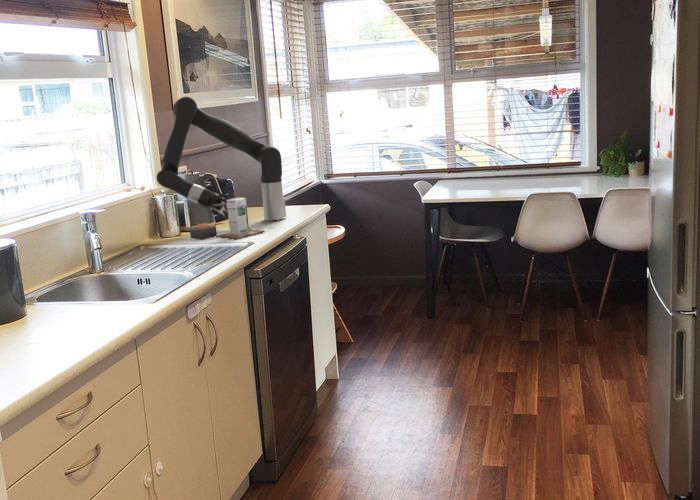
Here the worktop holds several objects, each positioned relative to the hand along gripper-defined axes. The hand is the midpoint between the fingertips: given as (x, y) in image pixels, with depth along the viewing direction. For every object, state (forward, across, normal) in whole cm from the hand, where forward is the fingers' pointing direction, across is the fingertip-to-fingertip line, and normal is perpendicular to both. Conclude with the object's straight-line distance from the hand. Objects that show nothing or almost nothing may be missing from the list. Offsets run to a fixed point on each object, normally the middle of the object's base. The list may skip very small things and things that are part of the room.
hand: (235, 212), depth 327 cm
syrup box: (+7, -5, +11) cm, 14 cm away
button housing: (-6, 0, +18) cm, 18 cm away
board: (+8, -4, +11) cm, 14 cm away
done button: (-7, -2, +16) cm, 17 cm away
